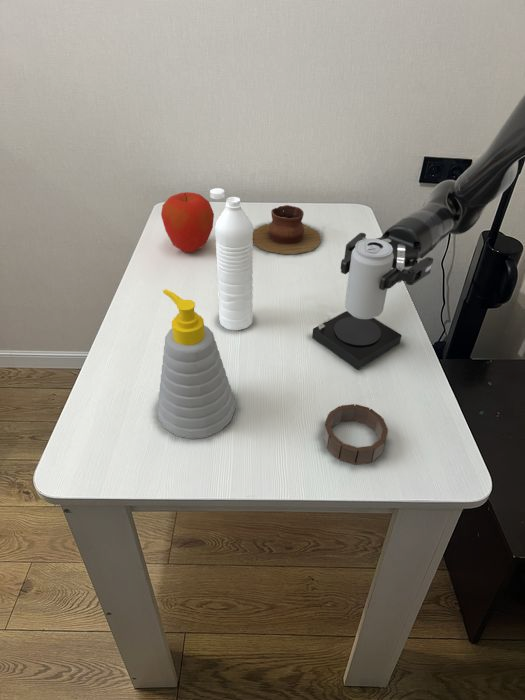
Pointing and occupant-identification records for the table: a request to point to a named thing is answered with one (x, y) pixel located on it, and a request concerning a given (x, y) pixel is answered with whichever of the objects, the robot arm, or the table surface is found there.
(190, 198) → the apple
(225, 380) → the soap bottle
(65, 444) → the table surface
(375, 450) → the can holder
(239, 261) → the water bottle
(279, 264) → the table surface
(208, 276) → the table surface
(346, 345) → the hot plate
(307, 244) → the ceramic pot
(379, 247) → the beverage can
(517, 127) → the robot arm
